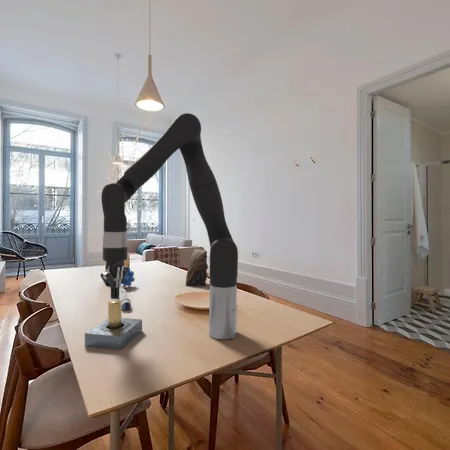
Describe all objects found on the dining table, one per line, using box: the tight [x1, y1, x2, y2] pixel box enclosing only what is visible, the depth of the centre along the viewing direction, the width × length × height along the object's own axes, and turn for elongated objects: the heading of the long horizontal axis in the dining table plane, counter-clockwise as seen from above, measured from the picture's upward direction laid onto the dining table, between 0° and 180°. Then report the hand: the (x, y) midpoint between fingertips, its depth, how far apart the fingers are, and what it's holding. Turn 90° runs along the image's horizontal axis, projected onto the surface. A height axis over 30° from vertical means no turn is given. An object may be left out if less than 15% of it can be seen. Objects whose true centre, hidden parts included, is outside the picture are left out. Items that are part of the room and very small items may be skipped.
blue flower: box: [121, 266, 135, 288], centre depth 155 cm, size 12×7×12 cm, turn 125°
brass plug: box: [107, 299, 122, 329], centre depth 93 cm, size 4×4×12 cm
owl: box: [185, 248, 209, 287], centre depth 166 cm, size 13×13×20 cm
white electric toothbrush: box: [118, 284, 132, 311], centre depth 131 cm, size 5×7×25 cm
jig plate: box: [84, 317, 143, 351], centre depth 93 cm, size 12×14×4 cm
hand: (115, 298), depth 93 cm, fingers closed
